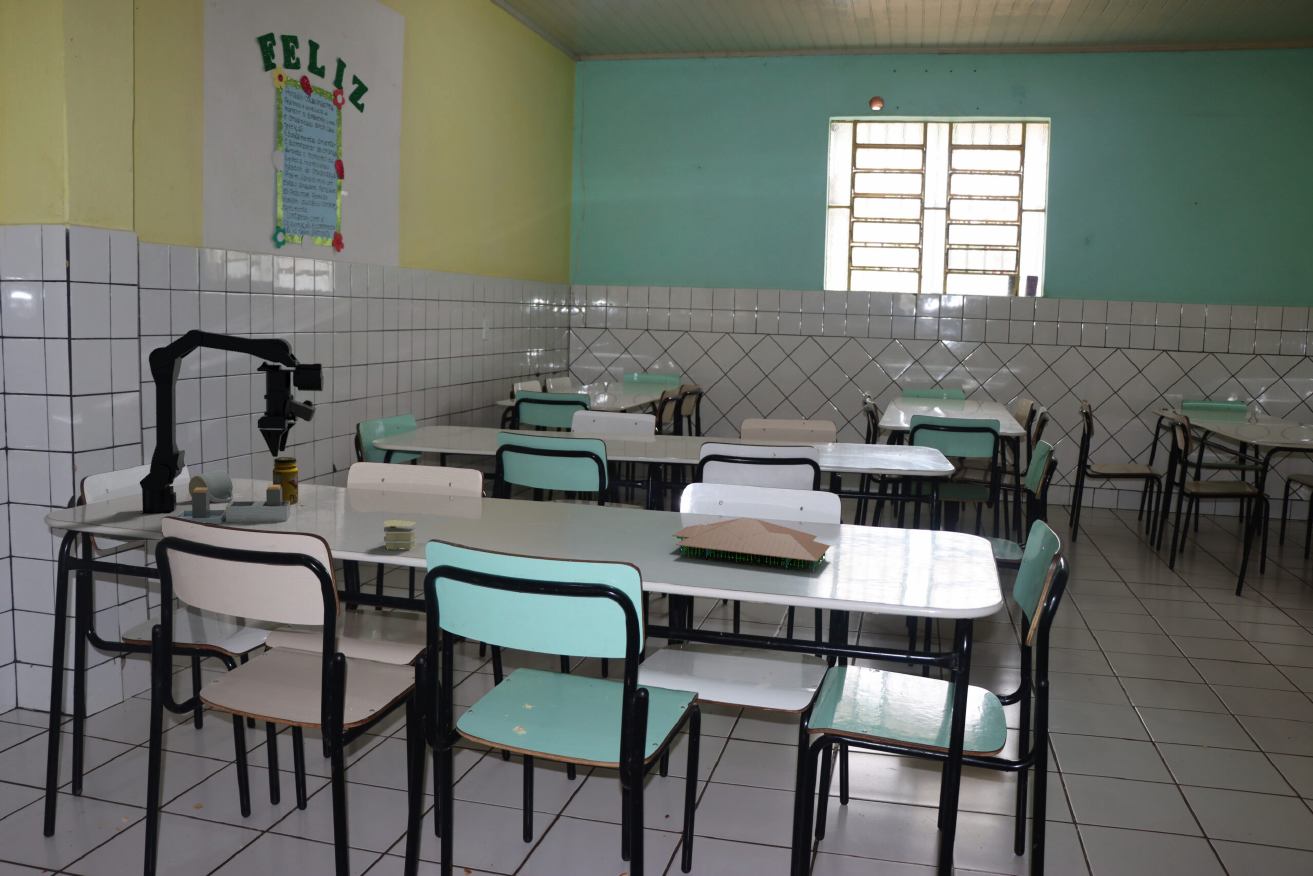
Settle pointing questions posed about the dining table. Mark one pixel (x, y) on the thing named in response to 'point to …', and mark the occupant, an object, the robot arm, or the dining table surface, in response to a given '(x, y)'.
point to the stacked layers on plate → (399, 534)
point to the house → (753, 540)
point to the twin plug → (274, 495)
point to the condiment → (286, 478)
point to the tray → (215, 518)
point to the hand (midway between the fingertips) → (278, 453)
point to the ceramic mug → (214, 485)
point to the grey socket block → (256, 511)
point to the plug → (200, 503)
